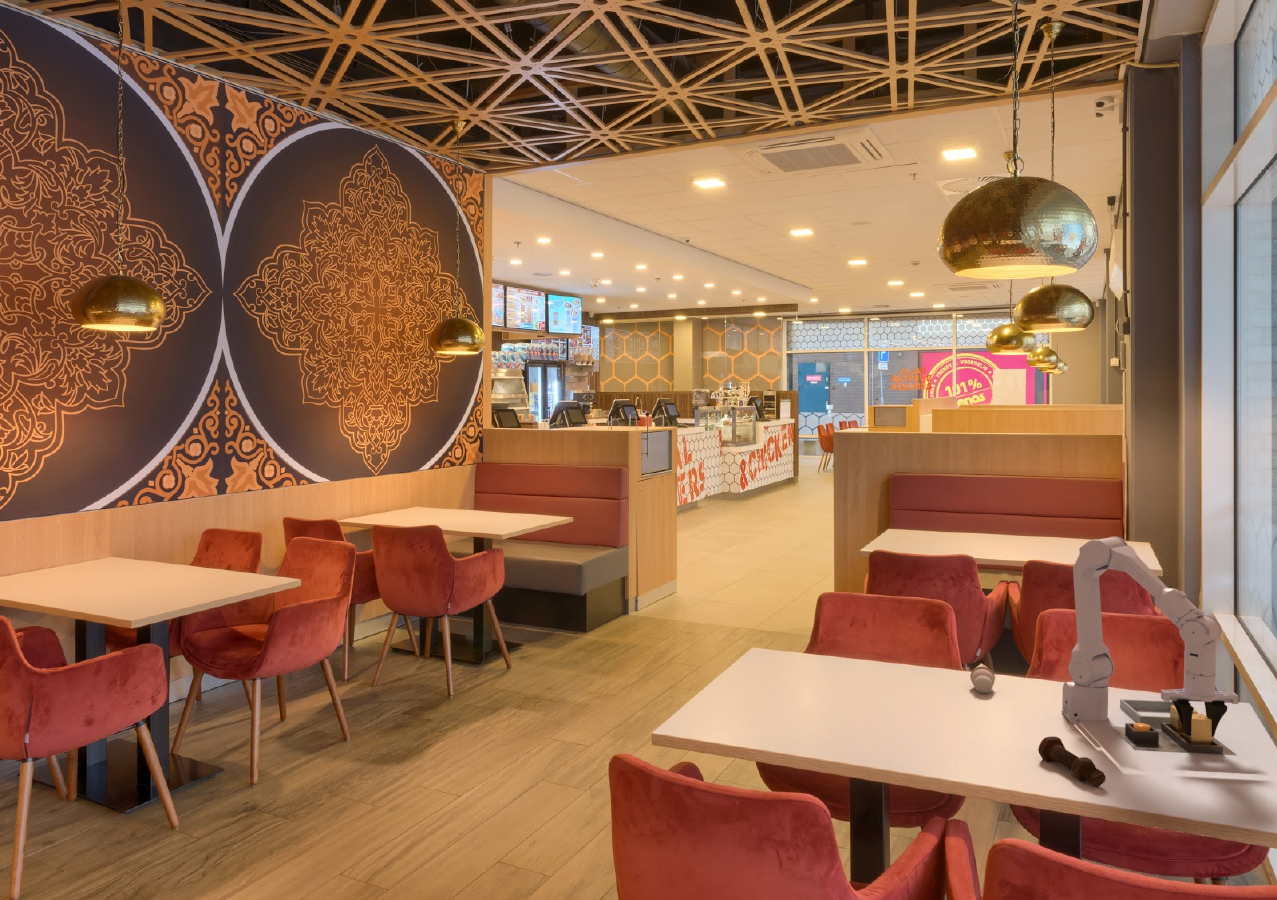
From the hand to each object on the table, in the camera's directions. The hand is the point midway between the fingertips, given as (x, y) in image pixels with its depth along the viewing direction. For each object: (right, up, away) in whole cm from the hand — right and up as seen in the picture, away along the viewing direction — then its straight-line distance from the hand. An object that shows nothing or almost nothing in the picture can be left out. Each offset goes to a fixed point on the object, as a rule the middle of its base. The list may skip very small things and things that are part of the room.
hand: (1198, 734), depth 189 cm
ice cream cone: (-29, -2, +45) cm, 54 cm away
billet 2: (0, -2, +1) cm, 2 cm away
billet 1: (+1, -2, +7) cm, 8 cm away
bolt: (-32, -5, -10) cm, 34 cm away
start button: (-9, -2, +5) cm, 11 cm away
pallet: (-3, -4, +4) cm, 7 cm away
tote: (+2, -3, +19) cm, 19 cm away
